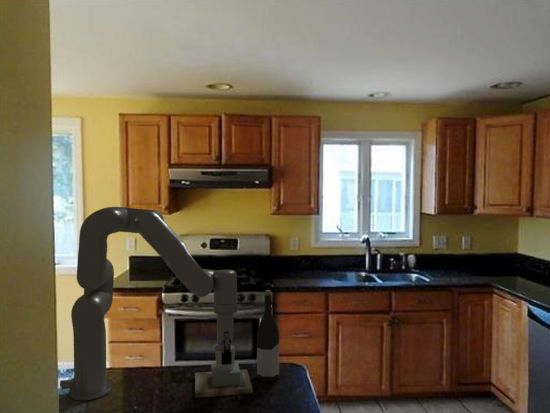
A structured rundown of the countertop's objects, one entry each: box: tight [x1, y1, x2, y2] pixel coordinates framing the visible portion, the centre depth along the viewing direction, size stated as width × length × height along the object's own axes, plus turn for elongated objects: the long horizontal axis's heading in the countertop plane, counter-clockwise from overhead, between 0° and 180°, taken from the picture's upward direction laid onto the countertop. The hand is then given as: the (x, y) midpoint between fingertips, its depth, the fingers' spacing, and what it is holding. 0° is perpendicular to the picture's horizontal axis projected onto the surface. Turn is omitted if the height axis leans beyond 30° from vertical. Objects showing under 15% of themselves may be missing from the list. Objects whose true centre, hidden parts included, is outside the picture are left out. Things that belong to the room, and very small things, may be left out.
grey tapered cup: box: [214, 344, 236, 371], centre depth 145 cm, size 7×7×7 cm
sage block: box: [211, 361, 241, 386], centre depth 145 cm, size 9×9×4 cm
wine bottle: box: [256, 289, 280, 382], centre depth 152 cm, size 8×8×30 cm
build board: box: [194, 368, 253, 398], centre depth 145 cm, size 18×16×2 cm
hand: (225, 358), depth 145 cm, fingers open, 9 cm apart
